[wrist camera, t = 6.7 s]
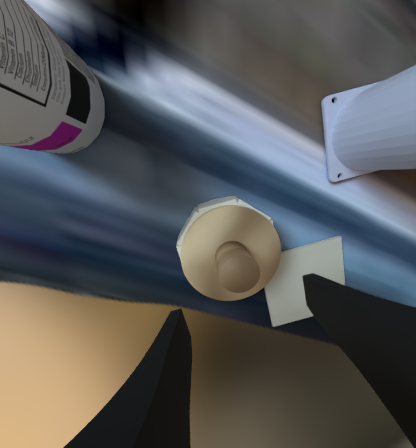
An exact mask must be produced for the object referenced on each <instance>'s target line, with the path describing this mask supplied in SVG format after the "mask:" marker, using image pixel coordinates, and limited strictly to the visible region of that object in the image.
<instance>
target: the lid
mask: <svg viewBox="0 0 416 448" xmlns="http://www.w3.org/2000/svg"><path fill="white" fill-rule="evenodd" d="M280 259H281V243H280V239H279V236H278V233H277V231H276V229H275V228H274V226H273V225H272V224H271V222H270V221H269V220H268V219H267V218H265V217H264V216H263V215H261V214H260V213H258V212H256V211H255V210H253V209H250V208H248V207H244V206H238V205H226V206H220V207H217V208H214V209H211V210H209V211H207V212H205V213H204V214H202V215H201V216H200V217H198V218H197V219H196V220H195V221H194V222H193V223H192V225H191V226H190V227H189V229H188V231H187V232H186V234H185V237H184V239H183V243H182V248H181V264H182V269H183V272H184V274H185V276H186V278H187V280H188V281H189V282H190V284H191V285H192V286H193V287H194V288H195V289H196V290H197V291H199V292H200V293H202V294H203V295H205V296H208V297H210V298H213V299H217V300H223V301H233V300H239V299H243V298H246V297H249V296H251V295H253V294H255V293H257V292H258V291H260V290H261V289H262V288H264V287H265V286H266V285H267V284H268V283H269V282H270V280H271V279H272V278H273V276H274V275H275V273H276V271H277V269H278V266H279V263H280Z"/></svg>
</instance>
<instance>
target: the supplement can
mask: <svg viewBox="0 0 416 448" xmlns="http://www.w3.org/2000/svg"><path fill="white" fill-rule="evenodd" d="M104 119H105V103H104V97H103V94H102V91H101V88H100V85H99V82H98V80H97V79H96V77H95V76H94V74H93V73H92V72H91V70H90V69H89V67H88V66H87V65H86V63H85V62H84V61H83V60H82V59H81V58H80V57H79V56H78V55H77V54H76V53H75V52H74V51H73V50H72V49H71V48H70V47H69V46H68V45H67V44H66V43H65V42H64V41H63V40H62V39H61V38H60V37H59V36H58V35H57V34H56V33H55V32H54V31H53V29H52V28H51V27H50V26H49V25H48V24H47V23H46V22H45V21H44V20H43V19H42V18H41V17H40V16H39V15H38V14H37V13H36V12H35V11H34V10H33V9H32V8H31V7H30V6H29V5H28V4H27V3H26V2H25V1H24V0H0V145H3V146H9V147H16V148H23V149H29V150H36V151H43V152H49V153H56V154H64V153H76V152H78V151H80V150H82V149H84V148H86V147H88V146H89V145H90V144H91V143H92V142H93V141H94V140H95V139H96V137H97V136H98V135H99V134H100V131H101V128H102V125H103V122H104Z"/></svg>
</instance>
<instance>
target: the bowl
mask: <svg viewBox="0 0 416 448" xmlns="http://www.w3.org/2000/svg"><path fill="white" fill-rule="evenodd" d="M226 205H238V206H244V207H248V208H250V209H253V210H255V211H256V212H258V213H260V214H261V215H263V216H264V217H265V218H267V219H268V220H269V221H270V222H271V224H272V225H273V221H272V220H271V218H270V217H268V216H267V215H265V214H263V213H262V212H260V211H258V210H257V209H255V208H253V207H252V206H250V205H248V204H247V203H245V202H243V201H242V200H240V199H238V198H236V197H235V196H233V197H232V196H231V195H230V196H227V197H223V198H216V199H212V200H209V201H207V202H204V203H201V204H198V207H196V206H195V208H194V209H193V211H192V213H191V214H190V216H189V217H188V219H187V221H186V223H185V225H184V227H183V228H182V230H181V232H180V234H179V237H178V241H177V246H176V247H177V250H178V253H179V256H180V259H181V248H182V243H183V239H184V237H185V234H186V232H187V231H188V229H189V227H190V226H191V225H192V223H193V222H194V221H195V220H196V219H197V218H198V217H200V216H201V215H202V214H204V213H205V212H207V211H209V210H211V209H214V208H217V207H220V206H226ZM273 226H274V225H273Z"/></svg>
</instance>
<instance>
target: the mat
mask: <svg viewBox="0 0 416 448" xmlns="http://www.w3.org/2000/svg"><path fill="white" fill-rule="evenodd" d="M311 273H314V274H317V275H320V276H322V277H325V278H327V279H330V280H332V281H335V282H337V283H340V284H342V285H345V277H344V265H343V253H342V240H341V236H336V237H332V238H328V239H325V240H321V241H317V242H314V243H310V244H306V245H303V246H299V247H295V248H292V249H288V250H284V251H281V259H280V263H279V266H278V269H277V271H276V273H275V275H274V276H273V278H272V279H271V280H270V282H269V283H268V284H267V285H266V286H265V287H264V289H265V294H266V299H267V304H268V308H269V313H270V318H271V323H272V326H273V327H275V326H278V325H282V324H286V323H289V322H293V321H297V320H300V319H304V318H308V317H311V316H313V314H312V313H311V311H310V310H309V308H308V307H307V305H306V298H305V291H304V284H303V277H302V276H303V275H307V274H311Z"/></svg>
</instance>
